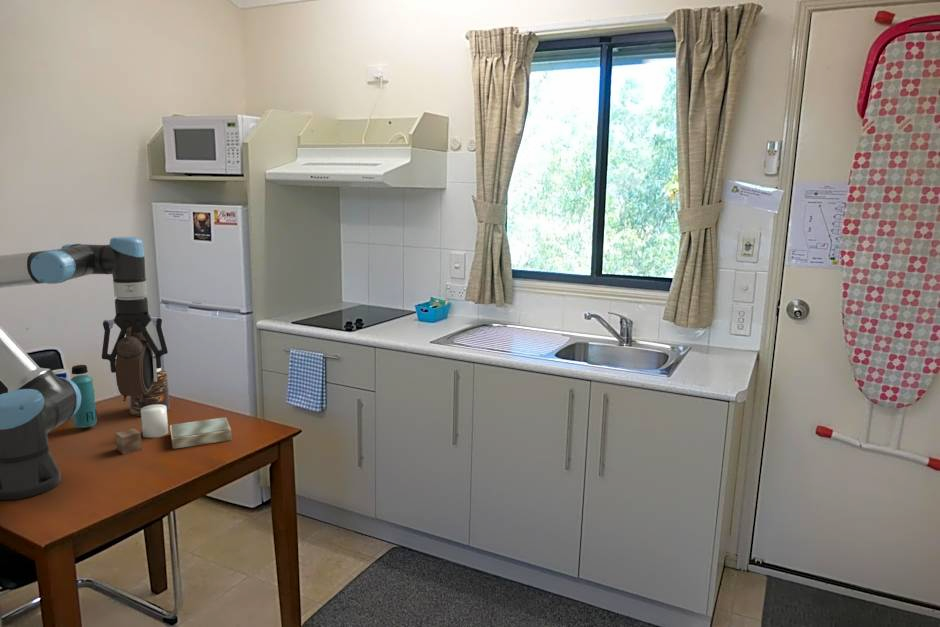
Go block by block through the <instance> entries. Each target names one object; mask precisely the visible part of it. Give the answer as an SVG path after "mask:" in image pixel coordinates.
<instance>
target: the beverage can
mask: <svg viewBox="0 0 940 627" xmlns="http://www.w3.org/2000/svg"><path fill="white" fill-rule="evenodd" d="M51 371H52V372H53V373H54V374H55V375H56V376H57V377H62V378H67V379H70V380H71V379H72V378H71V371H70V369H68V368H58V369H54V370H51Z"/></svg>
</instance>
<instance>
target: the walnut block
mask: <svg viewBox="0 0 940 627" xmlns="http://www.w3.org/2000/svg"><path fill="white" fill-rule="evenodd" d="M115 443H116V450H117V451H119V452H120V453H121V454H122V455H127V454H129V453H133V452H137V451H141V450H143V444H142V433H141V432H140V431H139V430H138V429H136V428H130V429H127V430H122V431H118V432H115Z"/></svg>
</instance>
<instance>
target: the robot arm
mask: <svg viewBox="0 0 940 627" xmlns="http://www.w3.org/2000/svg"><path fill="white" fill-rule="evenodd" d="M145 256H146V254H145V250H144V243H143V240H142V239H141V238H139V237H136V236H116V237H111V238H110V239H109V244H85V243H84V244H82V243H72V244H70V243H69V244H64V245H62V246H61V247H60V248H58V249H50V250H49V249H48V250H40V251H32V252H31V251H30V252H20V253H12V254H4V255H2V254H1V255H0V289H3V288H12V287H21V286H30V285H31V286H32V285H38V284H39V285H40V284H47V285H49V284H51V285H55V284H60V283H65V282H67V281H69V280H73V279H77V278H81V277H85V276H89V275H112V282H113V283H112V284H113V295H114V298H115V299H114V306H115V307H114V309H115V316H114V318H113V319H104V320H103V321H102V327H103V330H104V332H103V334H104V335H103V341H102V349H101V359H102V360H106V361H109V366H110V372H111V373H113V374H114V373H115V374H116V359H117V353H118V352H117V344H118V342H119V341H120V340H121V339H122V338H124V337H126V330H127V328H128V327H129V325H133V327H132V329H131V333H140V332H141V333H142V335H143V336H144V337H145V339H146V341H147V343H148V344H149V346H150V348H151V349H152V352H153V356H152V358H153V372H154V382H157V369H158V368H161V369H162V360H161V358H162V356H164V355H167V354H168V347H167V344H166V340H165V336H164V333H163V328H162V324H163V323H162V322H163V320H162V317H161V316H157V317H156V316H155V317H154V316H151V315H150V314H149V301H148V298H147V297H146V296H147V295H148V290H147V289H148V288H147V277H146V261H145V260H146V259H145ZM149 323H152V325H153V326H155V328H156V333H157V336H158V340H159V344H160V348H161V349H159V348H158V347H157V344H156V343H155V342H154V340H153V338H152V337H151V334H150V333H149V331H148V329H147V327H148V325H149ZM114 325H116V326H117V327H118V328H119V329H120V331H119V334H118V336H117V339H116V341H115V344H114V345H113V349H112V351H111V353H108V352H109V343H110V335H111V334H110V333H111V329H112V328H113V327H114ZM52 371H53V370H52V369H51V368H45V367H40V366H39V365H38V364H37V363H36V362H35V360H34V359H33V358H31V357H30V355H29V354H28V353H27V351H25V350H24V349H23V348H22V347H21V345H19V343H18V342H17V341H16V340H15V339H14V338H13V337H12V336H11V335H10V333H9V332H8V331H7V330H6V329H5V327H3V326H2V325H1V324H0V382H1V383H2V384H3V385H4V386H5V387H6V388H7V392H4V393H1V394H0V501H12V500H13V501H14V500H22V499H26V498H30V497H34V496H38V495H41V494H42V493H46V492H48V491H50V490H52V489H54V488H55V487H56V486H58V485H59V484H60V483H61V480H62V478H61V471H60V468H59V467H58V464H57V463H56V461H55V459H54V457H53V456H52V454H51V452H50V445H49V437H48V433H50V432H51V431H53V430H55V429H56V428H58V427H59V426H61V425H62V424H64V423H66V422H68V421H69V420H71V419H72V416H73V415H74V414H75V413H76V412H77V411H78V409H79V408H80V405H81V393H80V390H79V388H78V387H77V385H76V384H75V383H74V382H73V381H71V380H70V379H71V378H70V379H67V378H62V377H57V376H56V375H55V374H54V373H53V372H52Z"/></svg>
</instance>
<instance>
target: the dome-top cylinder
mask: <svg viewBox="0 0 940 627" xmlns="http://www.w3.org/2000/svg"><path fill="white" fill-rule="evenodd" d="M140 417H141V418H140V419H141V428H142V429H141V430H142V436H143V437H144V438H148V439H149V438H151V439H154V438H160V437H164V436H166V435H167V434H169V423H168V422H169V421H168V411H167V408H166V406H165V405H161V404H156V405H149V406H145V407H143V408H141V416H140Z"/></svg>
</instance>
